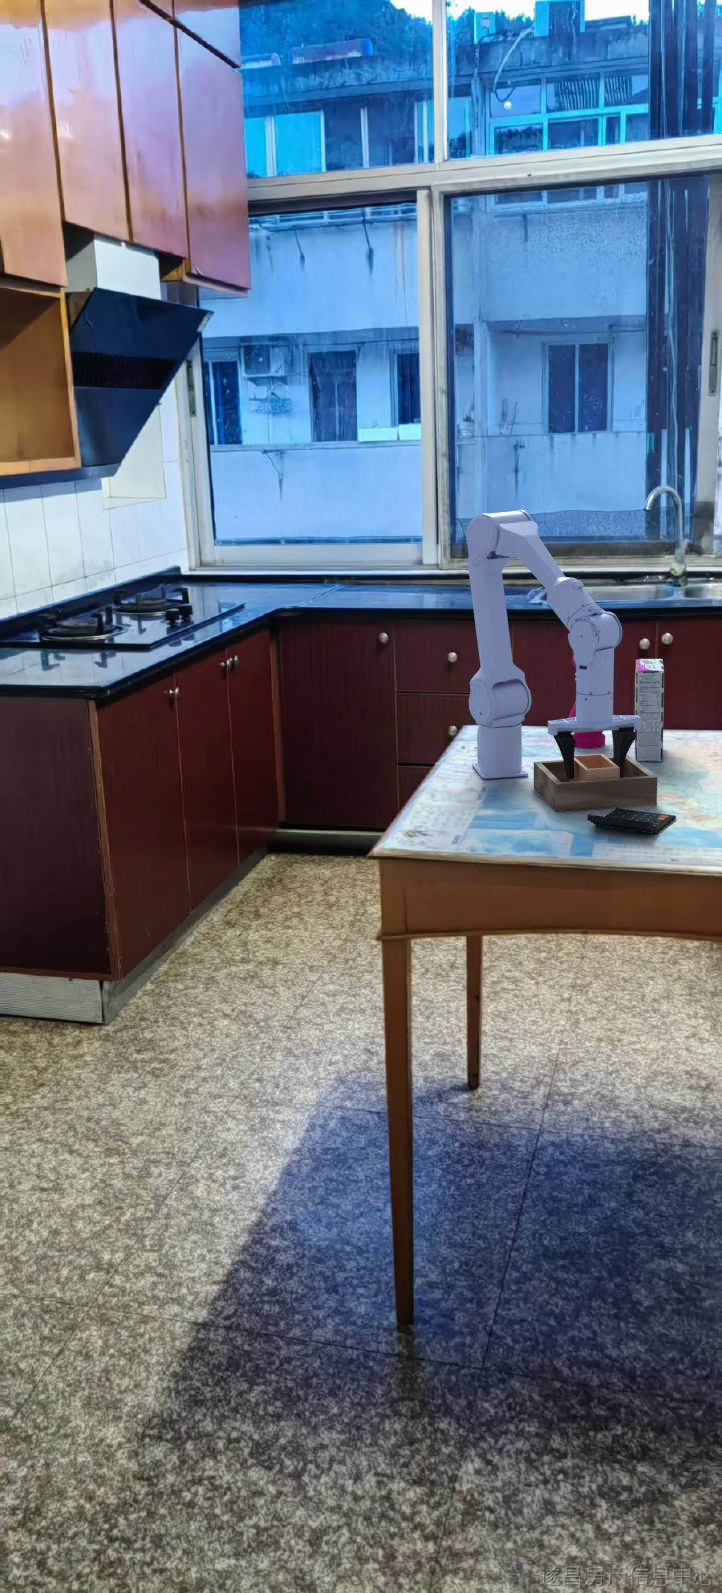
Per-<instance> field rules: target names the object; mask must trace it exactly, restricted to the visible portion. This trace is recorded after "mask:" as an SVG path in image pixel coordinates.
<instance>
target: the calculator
mask: <svg viewBox="0 0 722 1593" xmlns="http://www.w3.org/2000/svg"><path fill="white" fill-rule="evenodd" d="M586 820H587V821H588V822H590V823H591V824H593V825H595V826H596V827H604V828H611V829H618V830H626V831H634V832H639V833H648V834H654V835H658V834H660V832H661V831H663V830H664V829H666V828H667V827H669V825H671V824H672V823H673V822H674V821H676V820H677V815H675V814H668V813H667V814H665V813H659V812H651V811H642V810H638V809H637V810H636V809H628V808H627V809H626V808H613V810H611V811H610V812H609V813H607V814H606V815H597V814H590V813H589V814H587V817H586Z"/></svg>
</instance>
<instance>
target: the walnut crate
mask: <svg viewBox="0 0 722 1593" xmlns="http://www.w3.org/2000/svg"><path fill="white" fill-rule="evenodd" d="M606 757H607V758H608V759H610V760H611V761H612V762H613V755H611V756H606ZM533 789H534V791H535V792H536V793H537V794H539V795H540V796H539V797H541V798H542V799H543V800H544V801H545V802H546V803H547V805H549V806H550V808H552V809H553V810H554V812H555V813H567V812H579V811H581V812H582V811H594V810H607V809H616V808H621V809H624V808H634V807H635V808H636V807H648V806H657V805H658V776H657V775H655V774H654V773H652V772H651V771H650V770H649V769H648V768H646V767H645V766H644V765H642V764H641V763H640V762H637V761H636V759H634V758H632V757H631V756H630V755H628V754H627V755H626V758H625V761H624V764H623V768H622V772H621V775H620V776H619V778H613V779H599V780H585V781H571V782H570V779H569V778H568V777H567V776H566V769H565V765H564V761H563V759H556V760H555V759H554V760H542V761H533Z"/></svg>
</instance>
